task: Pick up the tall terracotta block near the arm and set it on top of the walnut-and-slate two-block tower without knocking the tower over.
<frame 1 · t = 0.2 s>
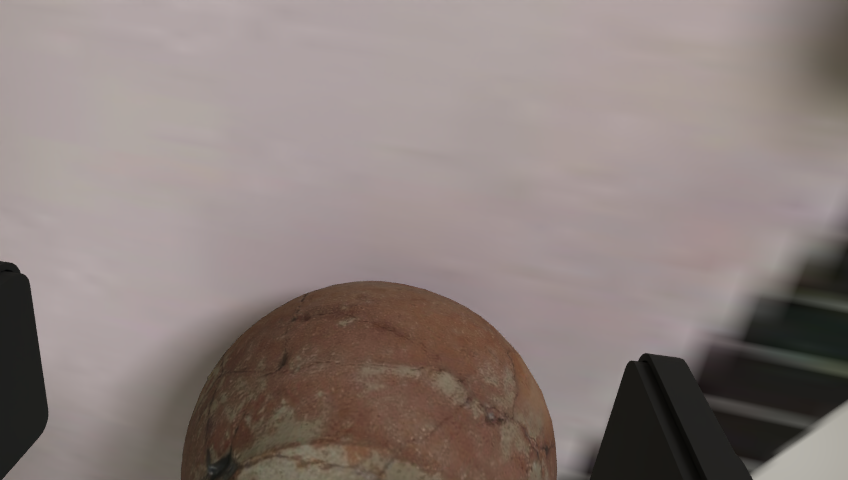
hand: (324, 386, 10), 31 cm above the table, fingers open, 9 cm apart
jug: (391, 358, 47), on the table
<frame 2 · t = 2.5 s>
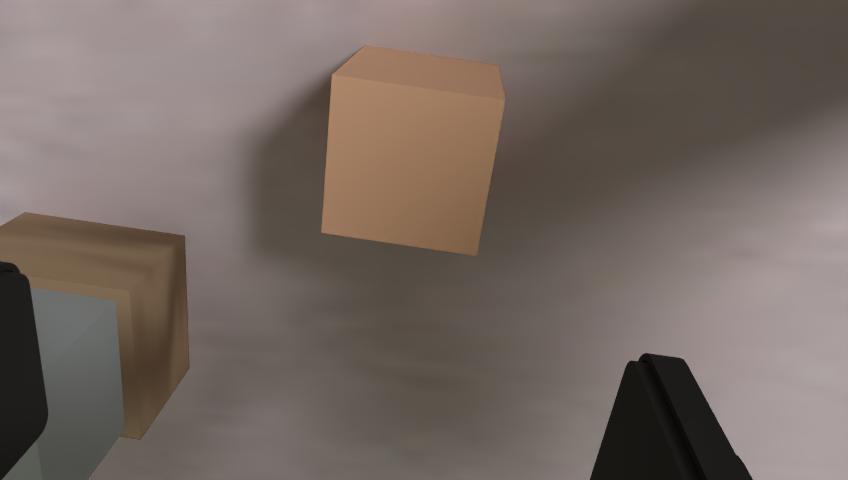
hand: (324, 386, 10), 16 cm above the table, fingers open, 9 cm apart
slate top block: (43, 355, 25), point 5 cm above the table, touching walnut base block
walnut base block: (112, 292, 29), on the table, touching slate top block
terracotta block: (422, 121, 25), on the table
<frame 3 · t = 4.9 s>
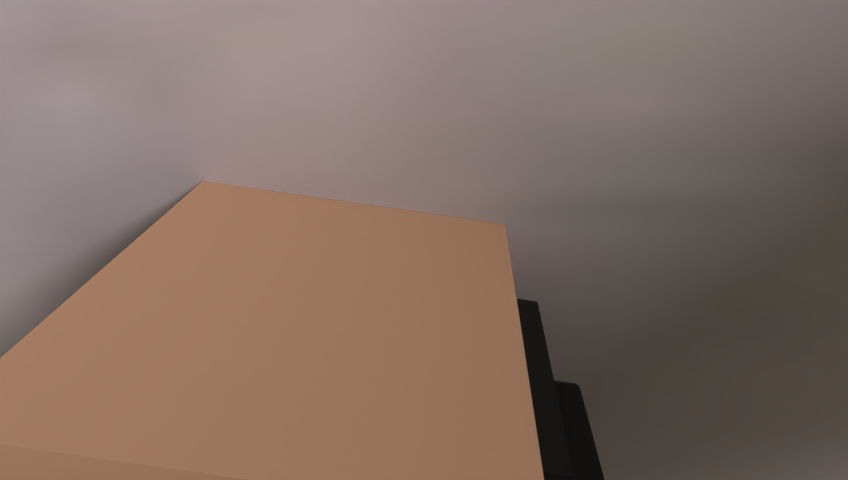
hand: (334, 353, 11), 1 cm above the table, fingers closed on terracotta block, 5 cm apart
terracotta block: (342, 331, 11), on the table, touching gripper
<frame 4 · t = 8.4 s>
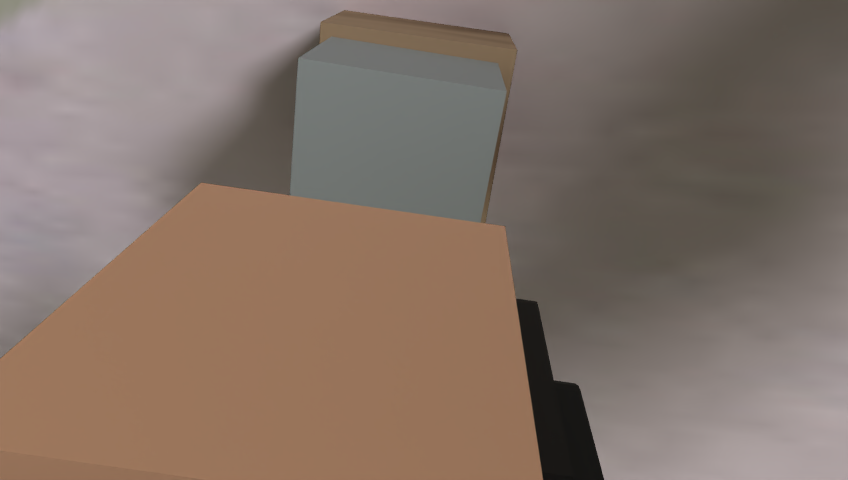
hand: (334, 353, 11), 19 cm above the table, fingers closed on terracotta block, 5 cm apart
slate top block: (403, 131, 24), point 5 cm above the table
walnut base block: (416, 103, 28), on the table
terracotta block: (341, 333, 11), point 19 cm above the table, touching gripper
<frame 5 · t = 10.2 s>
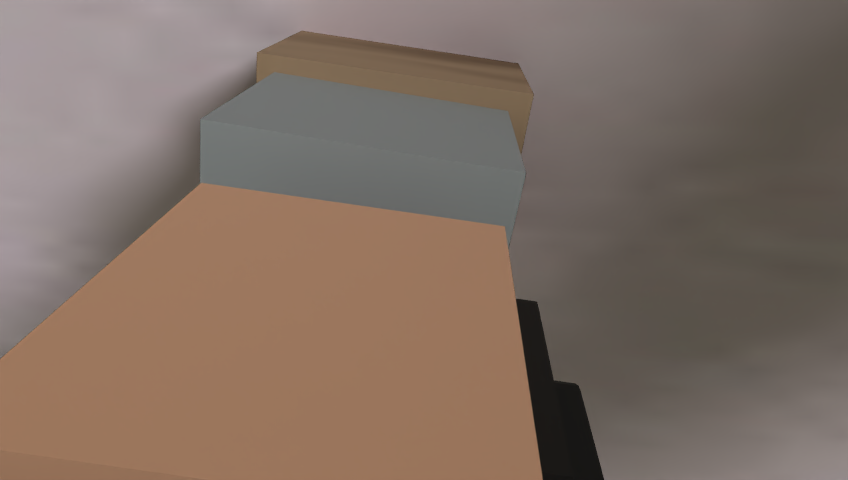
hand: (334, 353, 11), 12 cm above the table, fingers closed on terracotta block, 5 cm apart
slate top block: (376, 200, 17), point 5 cm above the table, touching walnut base block
walnut base block: (397, 150, 22), on the table, touching slate top block
terracotta block: (341, 333, 11), point 11 cm above the table, touching gripper
when the fingers open (12 cm above the table, at t = 10.7 s): terracotta block drops 2 cm, resting on slate top block.
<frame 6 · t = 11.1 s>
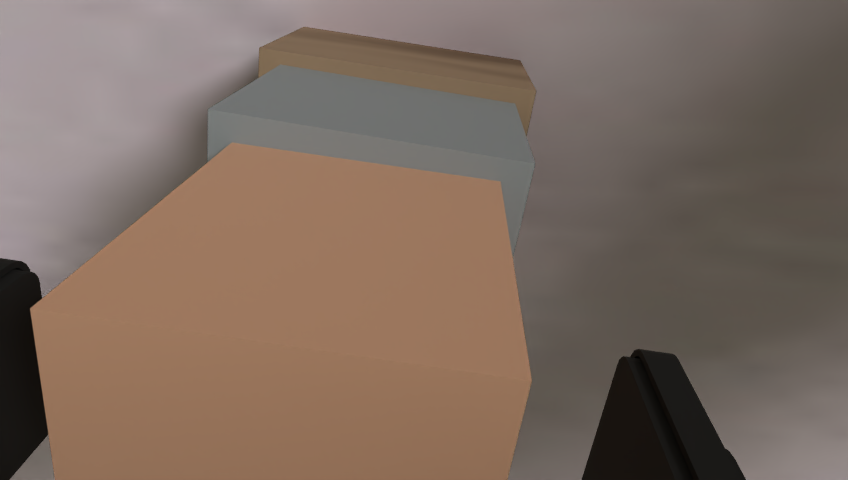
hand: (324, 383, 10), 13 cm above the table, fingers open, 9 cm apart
slate top block: (383, 194, 17), point 5 cm above the table, touching terracotta block, walnut base block
walnut base block: (398, 147, 22), on the table, touching slate top block
terracotta block: (354, 280, 13), point 10 cm above the table, touching slate top block
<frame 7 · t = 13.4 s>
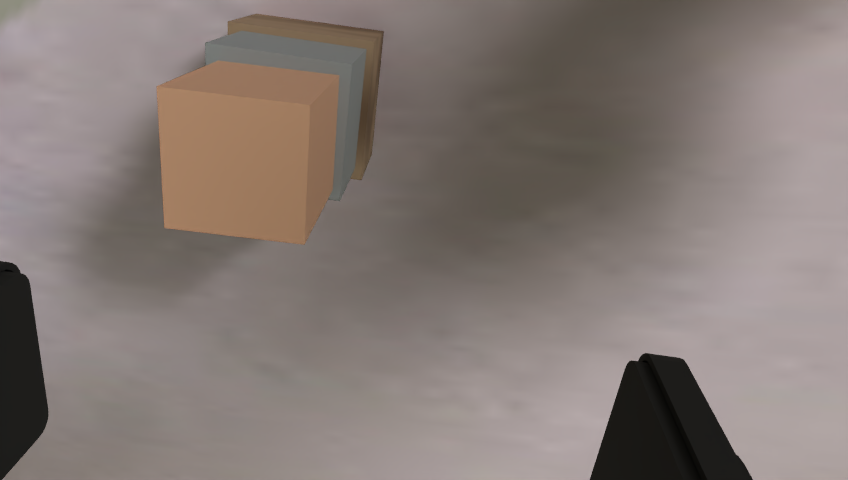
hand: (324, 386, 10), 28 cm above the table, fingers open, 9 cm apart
slate top block: (300, 102, 32), point 5 cm above the table, touching terracotta block, walnut base block
walnut base block: (316, 86, 36), on the table, touching slate top block
terracotta block: (277, 127, 27), point 10 cm above the table, touching slate top block
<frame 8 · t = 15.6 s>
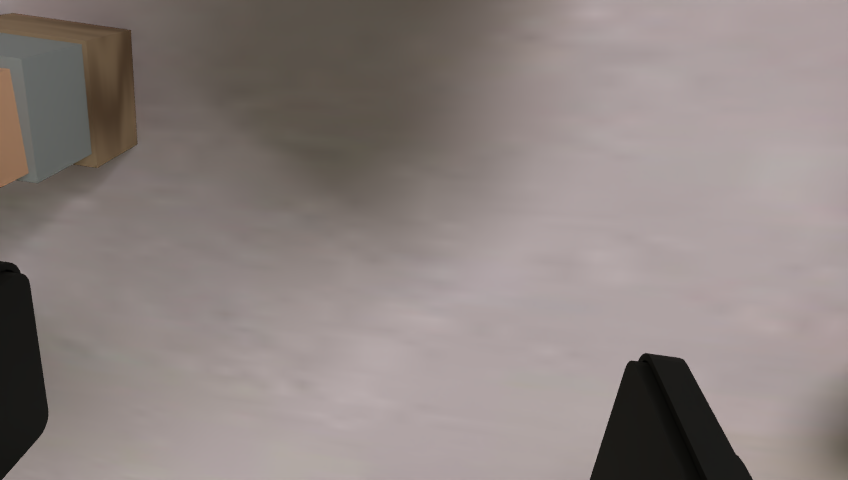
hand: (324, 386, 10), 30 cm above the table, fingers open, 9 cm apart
slate top block: (32, 93, 35), point 5 cm above the table, touching terracotta block, walnut base block
walnut base block: (78, 80, 39), on the table, touching slate top block
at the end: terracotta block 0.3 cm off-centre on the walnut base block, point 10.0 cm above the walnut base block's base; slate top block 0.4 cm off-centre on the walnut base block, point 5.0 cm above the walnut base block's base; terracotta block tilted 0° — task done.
